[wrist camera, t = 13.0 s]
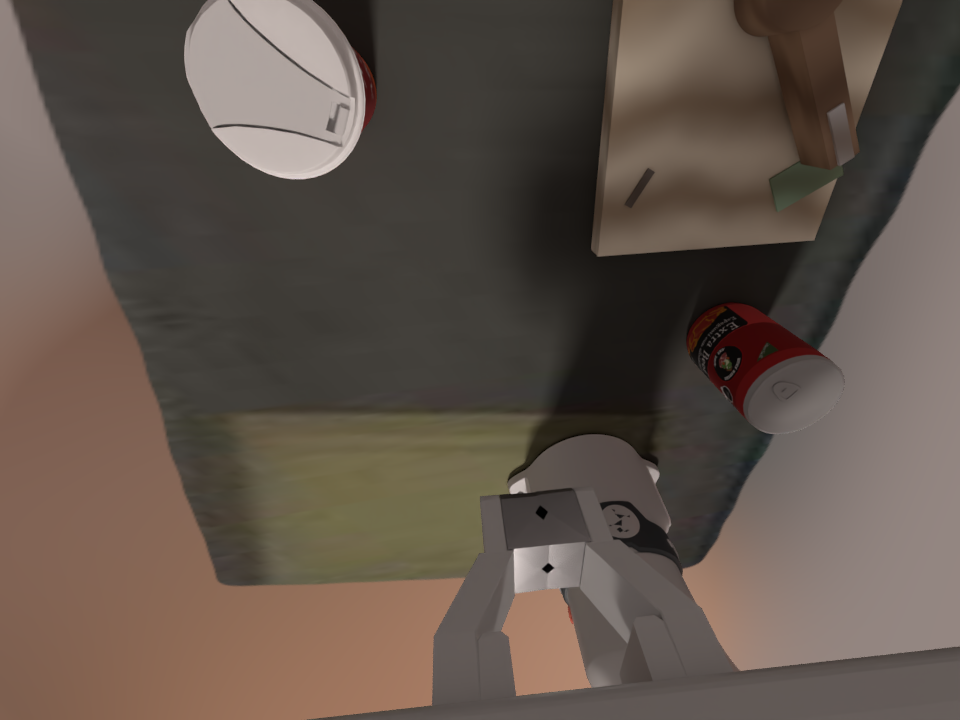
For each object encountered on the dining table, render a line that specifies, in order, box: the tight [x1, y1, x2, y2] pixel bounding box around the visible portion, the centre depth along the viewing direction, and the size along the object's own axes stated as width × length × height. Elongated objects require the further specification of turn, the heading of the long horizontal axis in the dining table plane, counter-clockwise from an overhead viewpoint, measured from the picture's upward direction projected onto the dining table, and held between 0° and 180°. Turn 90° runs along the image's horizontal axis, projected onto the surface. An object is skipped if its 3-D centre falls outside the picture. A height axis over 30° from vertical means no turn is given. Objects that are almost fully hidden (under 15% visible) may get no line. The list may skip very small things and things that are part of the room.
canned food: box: [687, 303, 845, 434], centre depth 39 cm, size 8×8×11 cm
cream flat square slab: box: [591, 0, 903, 257], centre depth 32 cm, size 20×19×2 cm
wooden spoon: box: [734, 0, 860, 170], centre depth 28 cm, size 14×5×4 cm, turn 36°
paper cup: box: [184, 0, 377, 179], centre depth 24 cm, size 8×8×14 cm
